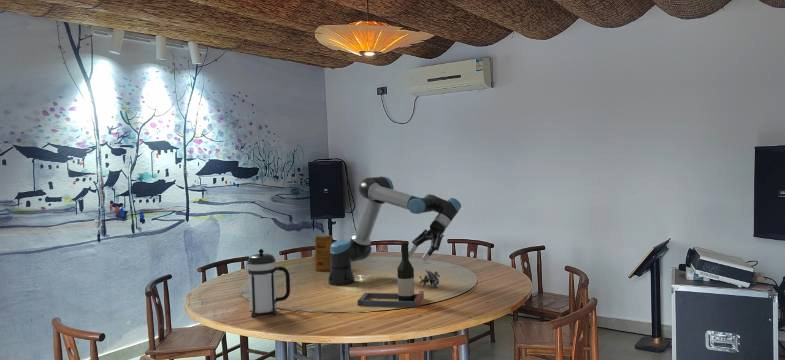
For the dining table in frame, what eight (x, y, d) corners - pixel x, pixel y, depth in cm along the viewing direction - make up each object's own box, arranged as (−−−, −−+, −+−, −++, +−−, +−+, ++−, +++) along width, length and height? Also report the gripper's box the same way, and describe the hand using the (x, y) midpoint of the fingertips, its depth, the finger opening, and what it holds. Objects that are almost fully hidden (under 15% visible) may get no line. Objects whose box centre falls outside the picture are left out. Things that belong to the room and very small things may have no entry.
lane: (357, 305, 255) (357, 297, 254) (365, 297, 269) (365, 289, 269) (419, 307, 249) (419, 298, 249) (423, 298, 264) (423, 290, 263)
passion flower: (437, 297, 286) (440, 283, 278) (417, 294, 286) (420, 279, 279) (438, 282, 294) (441, 267, 287) (418, 278, 295) (421, 264, 288)
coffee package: (315, 268, 347) (314, 234, 346) (334, 267, 347) (333, 234, 346) (313, 271, 337) (312, 237, 336) (332, 270, 337) (331, 236, 336)
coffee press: (264, 319, 236) (262, 252, 234) (239, 315, 244) (237, 250, 243) (291, 310, 250) (289, 246, 249) (267, 305, 259) (265, 244, 258)
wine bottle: (417, 300, 260) (415, 240, 259) (412, 305, 252) (410, 242, 251) (400, 299, 263) (399, 239, 262) (395, 304, 255) (393, 242, 254)
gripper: (459, 232, 257) (435, 266, 250) (429, 227, 278) (406, 258, 271) (450, 222, 254) (425, 256, 247) (421, 217, 275) (397, 249, 268)
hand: (415, 258), depth 259 cm, fingers open, 13 cm apart
